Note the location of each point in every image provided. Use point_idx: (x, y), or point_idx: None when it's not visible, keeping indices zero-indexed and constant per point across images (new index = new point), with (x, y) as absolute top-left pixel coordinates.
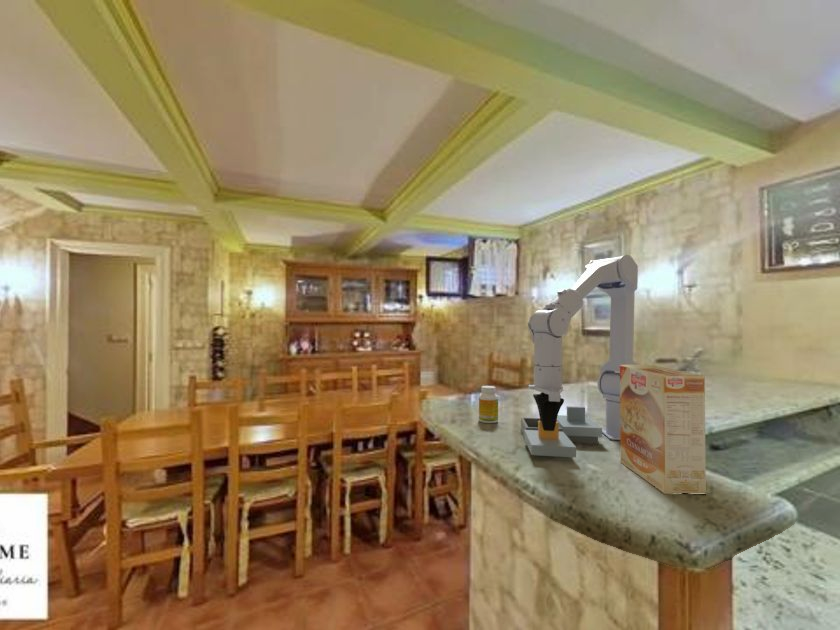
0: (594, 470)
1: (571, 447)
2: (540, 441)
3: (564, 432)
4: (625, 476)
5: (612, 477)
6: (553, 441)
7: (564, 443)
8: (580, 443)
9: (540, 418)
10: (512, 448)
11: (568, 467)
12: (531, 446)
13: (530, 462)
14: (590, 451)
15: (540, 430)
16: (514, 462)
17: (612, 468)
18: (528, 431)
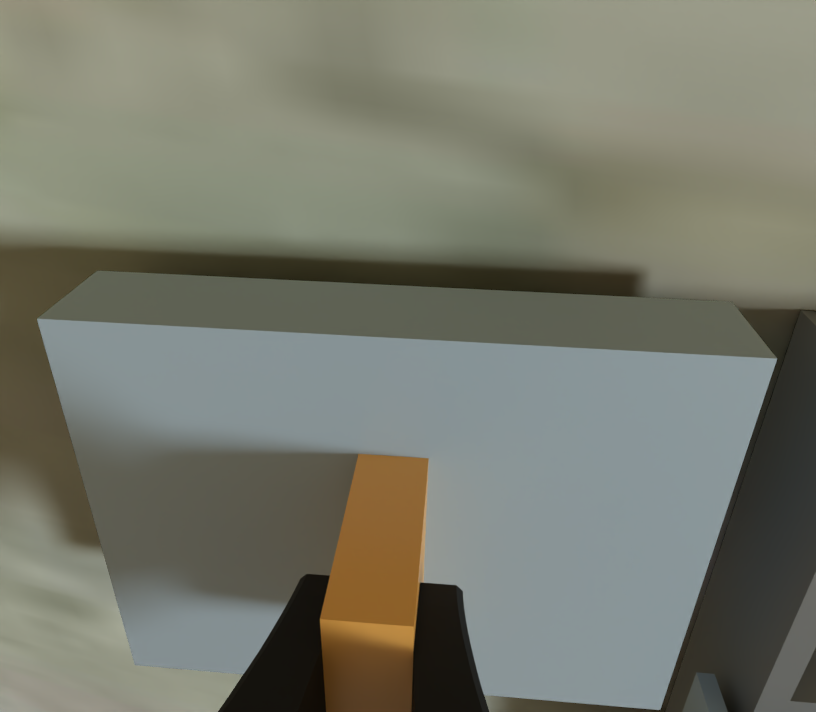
0: (88, 611)
1: (128, 635)
2: (222, 440)
3: (701, 709)
4: (54, 706)
5: (6, 652)
6: (263, 555)
7: (222, 619)
8: (668, 706)
9: (415, 688)
10: (522, 99)
11: (81, 491)
12: (55, 309)
13: (84, 229)
14: (486, 701)
15: (341, 535)
16: (17, 55)
17: (164, 698)
18: (678, 396)
